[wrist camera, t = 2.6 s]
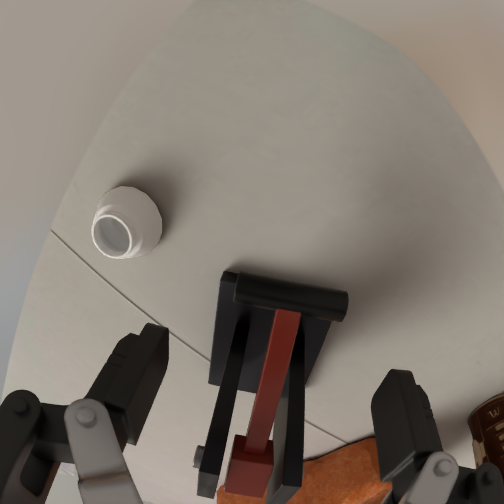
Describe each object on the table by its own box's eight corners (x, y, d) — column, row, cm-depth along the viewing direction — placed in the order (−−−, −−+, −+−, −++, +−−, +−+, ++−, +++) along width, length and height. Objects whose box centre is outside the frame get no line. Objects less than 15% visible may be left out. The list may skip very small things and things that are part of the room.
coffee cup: (475, 435, 30) (495, 513, 18) (446, 425, 29) (468, 517, 17) (524, 396, 26) (556, 474, 14) (503, 380, 25) (541, 474, 13)
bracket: (223, 270, 22) (163, 432, 11) (337, 292, 22) (359, 462, 11) (210, 373, 27) (173, 502, 16) (298, 390, 27) (291, 522, 16)
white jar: (118, 258, 23) (175, 242, 22) (100, 278, 20) (159, 263, 19) (91, 197, 21) (147, 174, 20) (68, 212, 18) (126, 187, 17)
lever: (241, 268, 16) (237, 273, 13) (341, 287, 16) (354, 296, 13) (204, 462, 16) (197, 487, 14) (285, 475, 16) (287, 501, 14)
